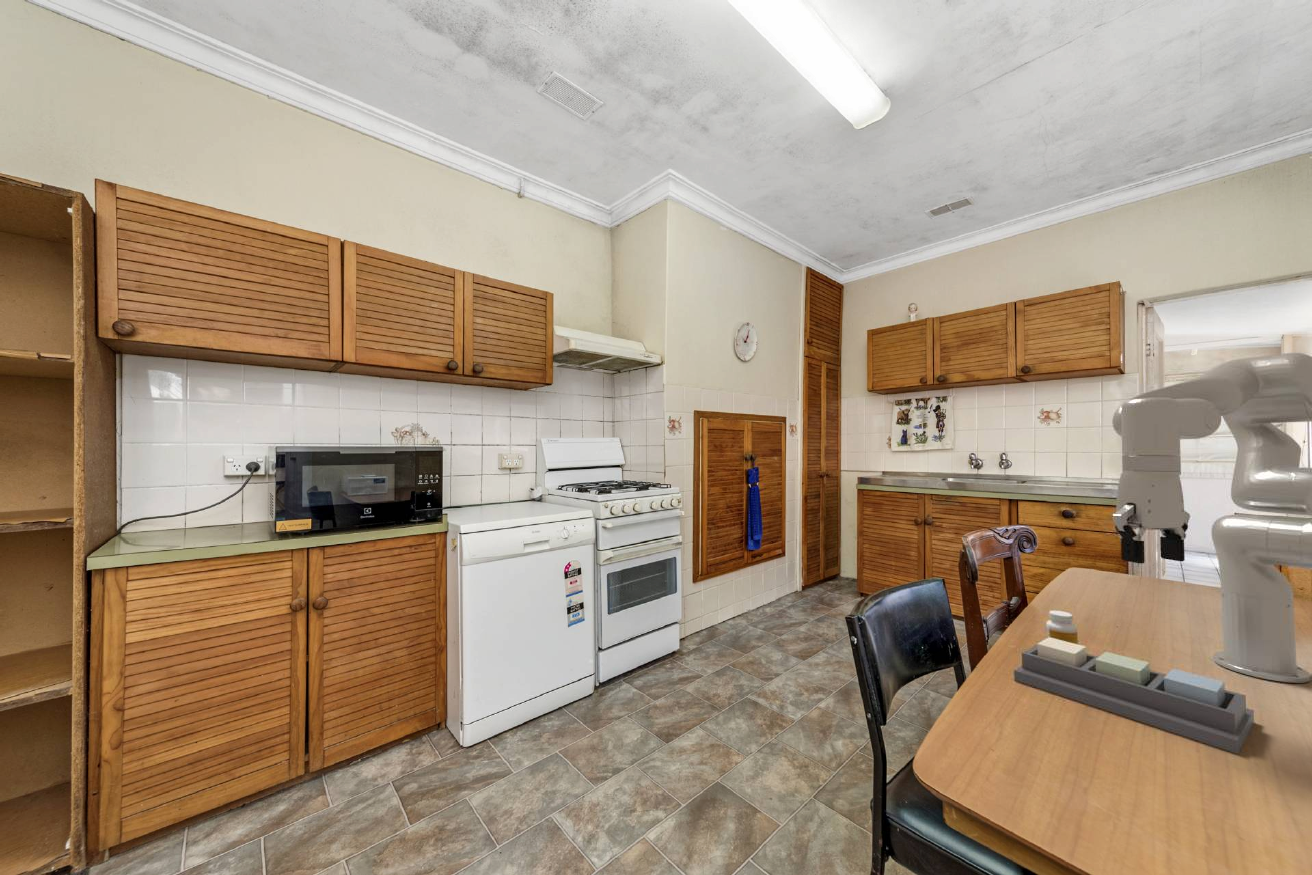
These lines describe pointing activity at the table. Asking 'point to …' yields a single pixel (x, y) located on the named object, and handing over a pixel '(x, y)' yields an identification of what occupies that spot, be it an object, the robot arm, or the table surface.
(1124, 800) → the table surface
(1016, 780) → the table surface
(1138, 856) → the table surface
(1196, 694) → the blue key
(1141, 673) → the sage key
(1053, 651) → the cream key
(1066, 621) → the supplement bottle
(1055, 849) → the table surface
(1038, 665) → the grey compartment tray
